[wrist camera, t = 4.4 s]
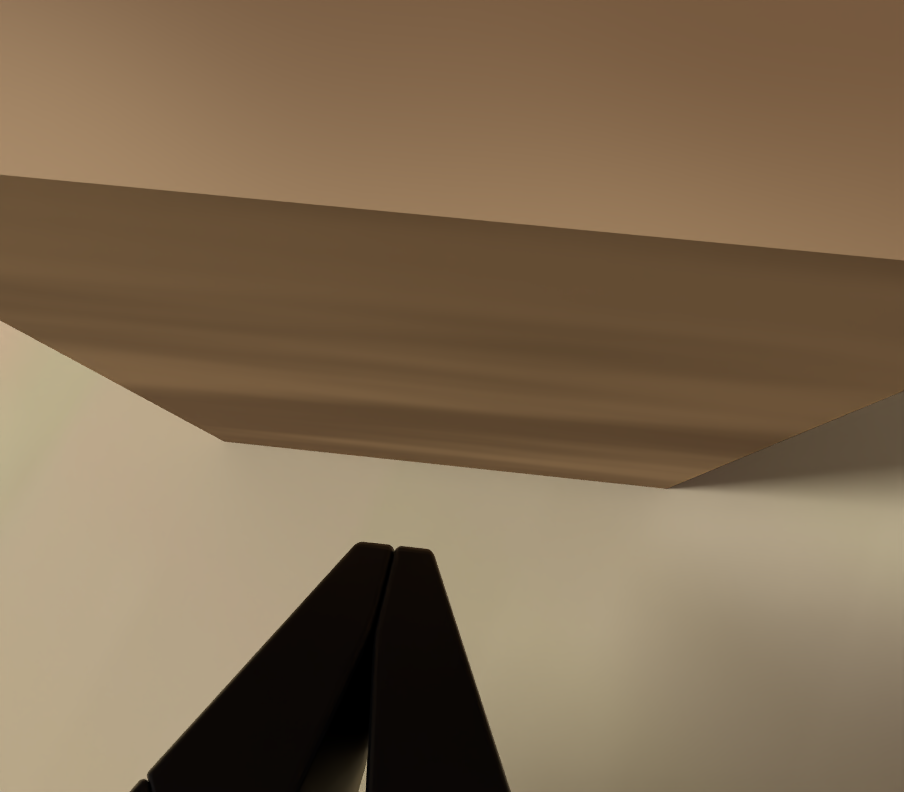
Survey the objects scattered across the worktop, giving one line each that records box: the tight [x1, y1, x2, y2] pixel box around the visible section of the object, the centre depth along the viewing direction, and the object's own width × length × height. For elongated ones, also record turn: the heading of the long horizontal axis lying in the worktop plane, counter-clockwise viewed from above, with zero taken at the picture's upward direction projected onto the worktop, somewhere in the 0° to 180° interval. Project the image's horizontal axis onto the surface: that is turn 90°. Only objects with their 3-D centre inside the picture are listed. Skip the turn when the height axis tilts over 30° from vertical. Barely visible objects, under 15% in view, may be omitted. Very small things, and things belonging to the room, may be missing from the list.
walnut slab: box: [0, 0, 904, 489], centre depth 12 cm, size 4×10×13 cm, turn 84°
